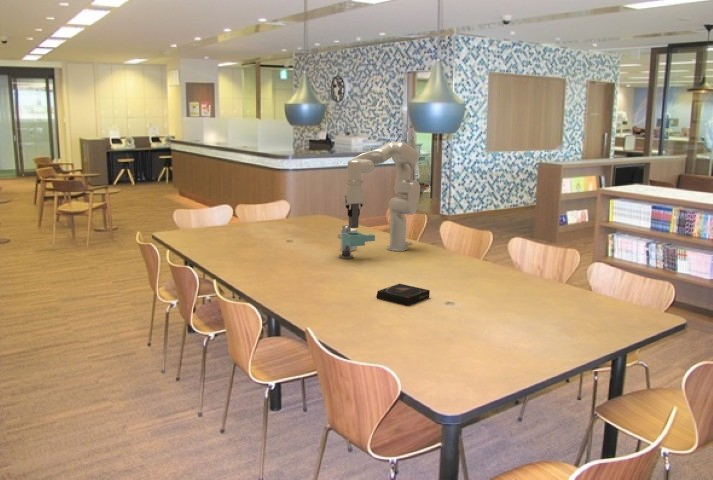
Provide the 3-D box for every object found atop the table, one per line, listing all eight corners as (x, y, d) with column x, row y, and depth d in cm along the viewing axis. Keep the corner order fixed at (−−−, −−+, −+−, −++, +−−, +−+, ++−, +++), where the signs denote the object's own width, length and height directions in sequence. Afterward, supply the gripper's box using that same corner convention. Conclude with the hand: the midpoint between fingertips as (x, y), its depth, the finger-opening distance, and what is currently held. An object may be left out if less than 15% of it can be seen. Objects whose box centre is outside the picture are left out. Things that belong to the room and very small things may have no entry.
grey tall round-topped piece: (350, 254, 361) (350, 223, 357) (358, 258, 352) (358, 226, 349) (334, 256, 356) (334, 225, 353) (342, 259, 348) (342, 228, 344)
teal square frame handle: (369, 241, 355) (369, 230, 353) (377, 244, 347) (377, 233, 345) (342, 243, 347) (342, 233, 346) (349, 246, 339) (349, 236, 338)
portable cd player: (398, 291, 288) (398, 283, 288) (429, 298, 278) (429, 290, 277) (376, 299, 276) (376, 290, 275) (408, 307, 265) (408, 298, 265)
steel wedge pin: (355, 226, 345) (355, 194, 342) (358, 227, 342) (359, 195, 338) (348, 227, 344) (349, 194, 340) (351, 228, 340) (352, 195, 337)
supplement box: (349, 251, 368) (350, 230, 366) (340, 250, 372) (340, 229, 370) (357, 249, 374) (357, 229, 371) (347, 248, 378) (347, 227, 376)
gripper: (364, 181, 345) (363, 214, 349) (337, 182, 338) (336, 216, 341) (371, 183, 339) (370, 216, 342) (343, 184, 331) (343, 218, 335)
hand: (353, 216), depth 342 cm, fingers closed on steel wedge pin, 4 cm apart
